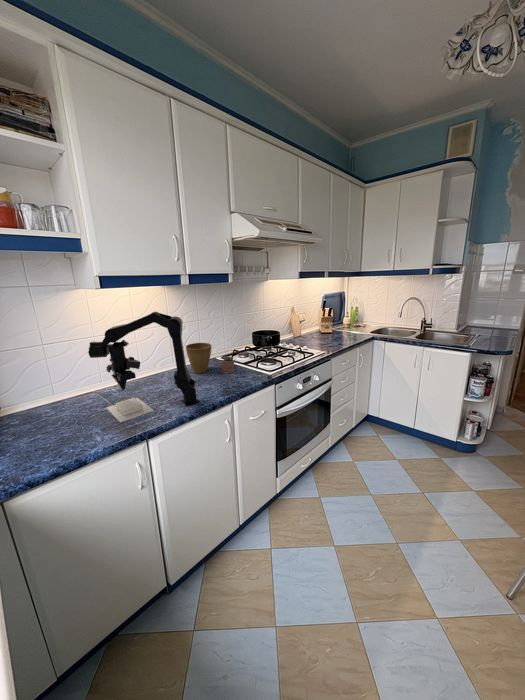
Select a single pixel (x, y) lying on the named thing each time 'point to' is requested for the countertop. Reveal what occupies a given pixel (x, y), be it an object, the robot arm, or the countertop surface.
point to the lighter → (227, 365)
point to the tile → (129, 406)
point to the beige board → (121, 417)
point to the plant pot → (199, 356)
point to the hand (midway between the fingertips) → (123, 389)
